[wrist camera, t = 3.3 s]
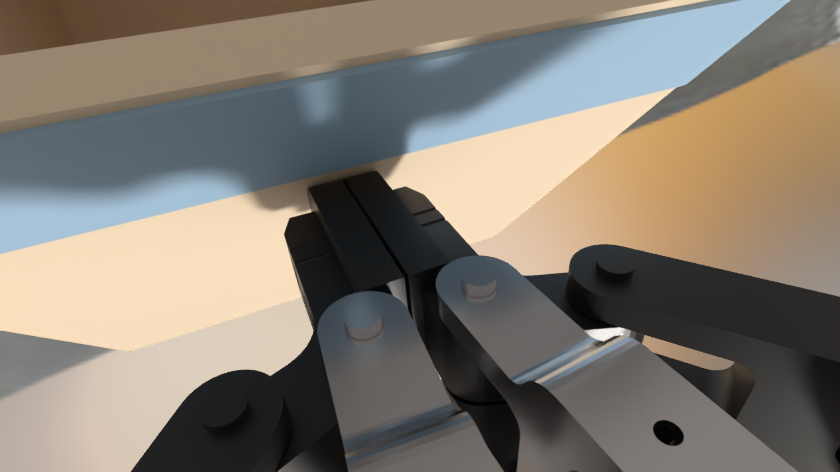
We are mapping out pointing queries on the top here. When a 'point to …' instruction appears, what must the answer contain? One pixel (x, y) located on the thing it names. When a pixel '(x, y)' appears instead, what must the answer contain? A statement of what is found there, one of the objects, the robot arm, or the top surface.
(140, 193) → the box lid
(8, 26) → the cardboard box
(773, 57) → the top surface
